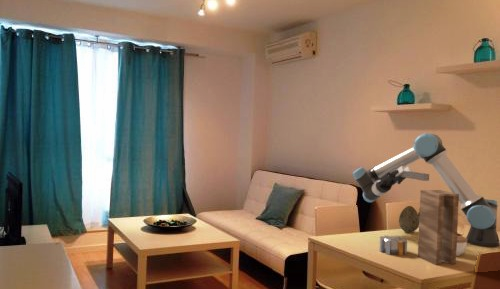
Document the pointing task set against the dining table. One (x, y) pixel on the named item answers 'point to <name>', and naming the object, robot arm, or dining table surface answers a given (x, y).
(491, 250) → the dining table surface
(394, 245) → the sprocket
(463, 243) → the lidded jar
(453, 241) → the tall wooden pillar
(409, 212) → the decorative egg
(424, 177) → the steel bar
